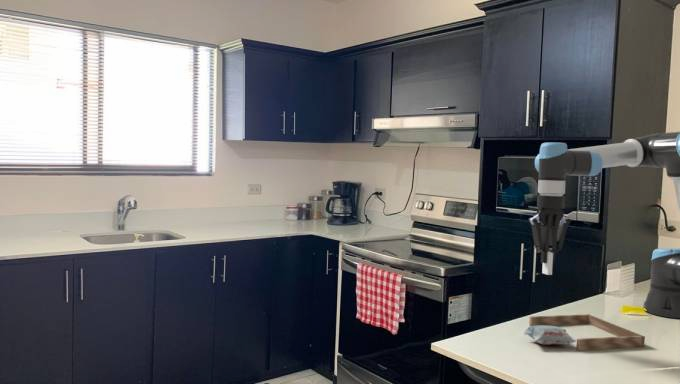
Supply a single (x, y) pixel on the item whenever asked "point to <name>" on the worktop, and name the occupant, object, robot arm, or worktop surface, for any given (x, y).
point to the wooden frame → (623, 335)
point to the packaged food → (549, 335)
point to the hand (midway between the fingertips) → (546, 273)
